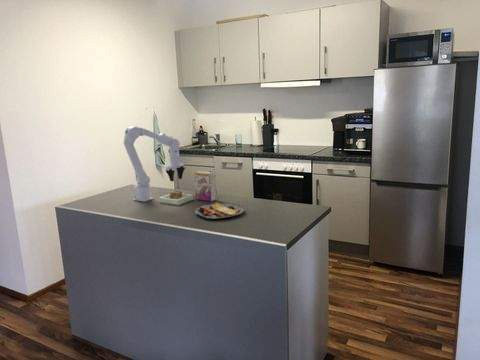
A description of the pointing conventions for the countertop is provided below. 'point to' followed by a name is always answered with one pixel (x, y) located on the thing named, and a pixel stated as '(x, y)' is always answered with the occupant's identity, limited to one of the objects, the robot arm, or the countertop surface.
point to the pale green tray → (167, 199)
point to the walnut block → (176, 195)
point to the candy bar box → (205, 186)
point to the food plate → (219, 210)
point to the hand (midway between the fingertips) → (176, 179)
